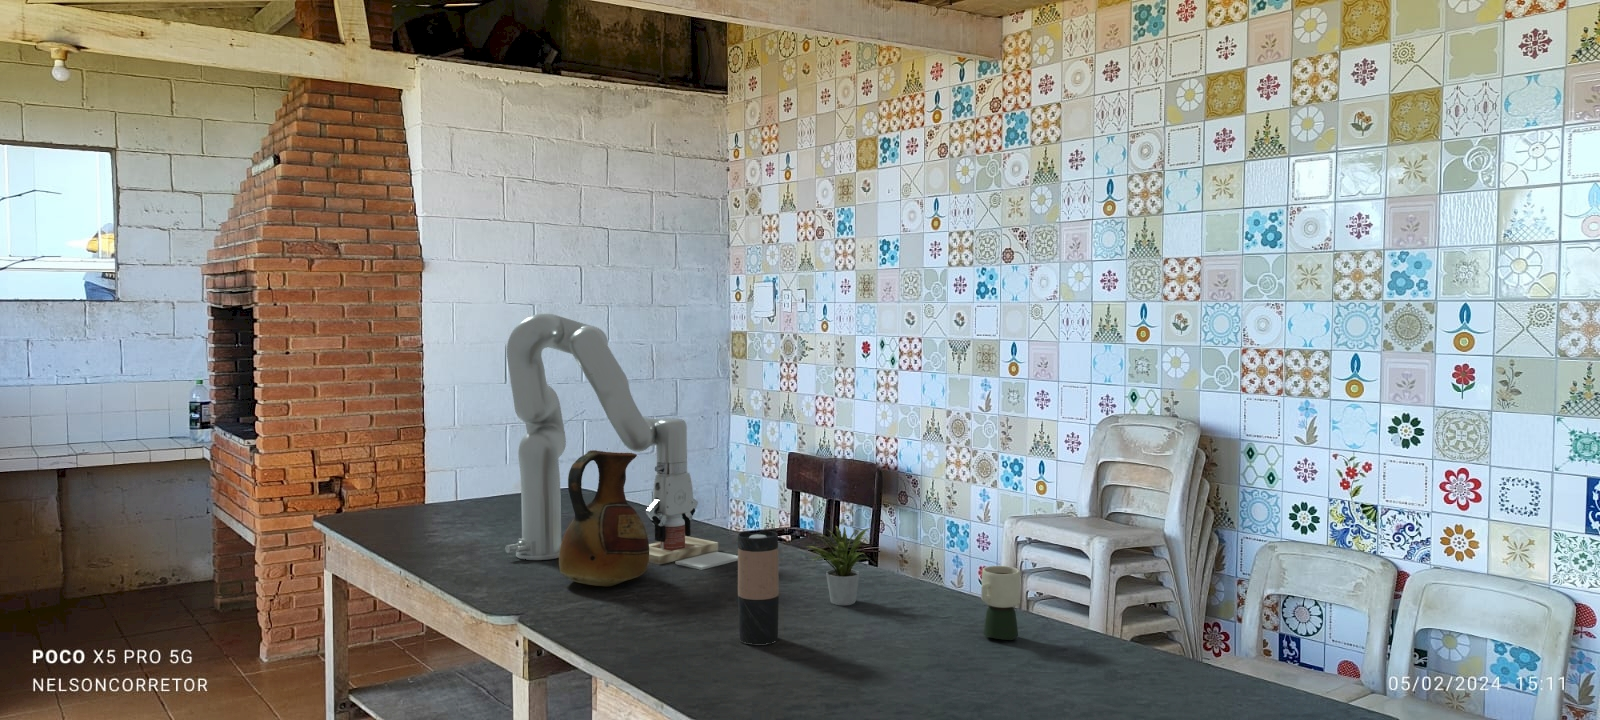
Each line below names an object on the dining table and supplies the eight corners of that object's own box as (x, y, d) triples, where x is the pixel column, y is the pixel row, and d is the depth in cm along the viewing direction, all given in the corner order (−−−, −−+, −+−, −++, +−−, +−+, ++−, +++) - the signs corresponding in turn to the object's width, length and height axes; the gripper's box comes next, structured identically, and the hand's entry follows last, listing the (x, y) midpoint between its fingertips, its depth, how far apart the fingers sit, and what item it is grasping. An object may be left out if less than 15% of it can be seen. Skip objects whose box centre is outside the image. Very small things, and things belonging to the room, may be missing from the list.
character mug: (1004, 628, 218) (1004, 562, 217) (1034, 636, 212) (1034, 568, 212) (967, 640, 211) (967, 571, 210) (997, 649, 205) (997, 578, 205)
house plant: (844, 588, 249) (844, 514, 248) (892, 599, 239) (892, 523, 238) (798, 600, 239) (797, 523, 238) (845, 613, 229) (845, 533, 228)
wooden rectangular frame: (659, 564, 271) (658, 556, 271) (626, 557, 279) (626, 549, 279) (718, 550, 286) (718, 542, 286) (685, 543, 294) (685, 536, 294)
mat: (701, 569, 266) (701, 567, 266) (675, 563, 272) (675, 561, 272) (742, 559, 276) (742, 556, 276) (716, 553, 282) (716, 551, 282)
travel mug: (764, 648, 206) (763, 540, 205) (730, 642, 210) (729, 535, 209) (786, 638, 212) (786, 532, 211) (753, 631, 217) (752, 528, 215)
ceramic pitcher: (667, 581, 255) (665, 449, 254) (594, 598, 241) (592, 459, 239) (613, 567, 269) (611, 442, 267) (541, 583, 254) (539, 450, 252)
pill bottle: (690, 553, 282) (690, 509, 282) (670, 557, 278) (670, 513, 278) (675, 549, 287) (674, 506, 286) (655, 553, 283) (655, 509, 282)
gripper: (655, 474, 272) (656, 546, 273) (707, 465, 285) (708, 534, 286) (635, 471, 277) (636, 542, 278) (687, 463, 290) (688, 530, 291)
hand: (672, 537), depth 282 cm, fingers open, 7 cm apart
